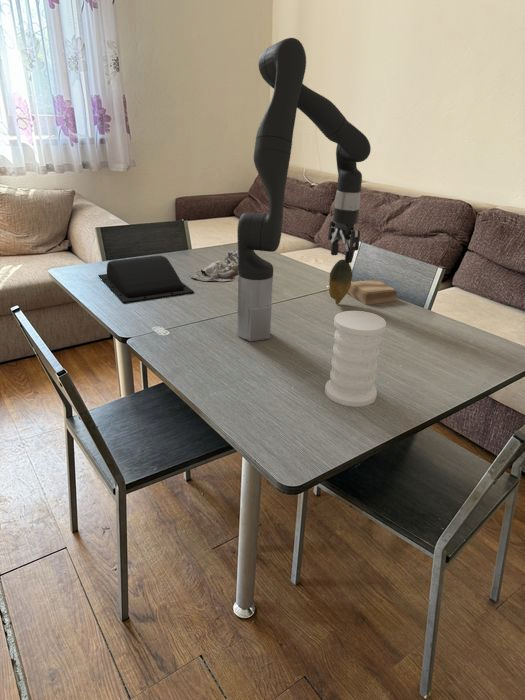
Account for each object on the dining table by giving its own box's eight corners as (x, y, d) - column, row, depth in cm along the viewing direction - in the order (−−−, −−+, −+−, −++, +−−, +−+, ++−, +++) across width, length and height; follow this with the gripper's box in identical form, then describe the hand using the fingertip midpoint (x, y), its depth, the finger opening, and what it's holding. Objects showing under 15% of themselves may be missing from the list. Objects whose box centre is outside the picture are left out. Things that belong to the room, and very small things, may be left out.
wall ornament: (276, 252, 191) (204, 253, 175) (274, 280, 194) (204, 283, 178) (248, 248, 206) (180, 248, 190) (247, 274, 209) (180, 276, 193)
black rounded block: (98, 278, 184) (123, 305, 161) (96, 254, 180) (121, 279, 157) (162, 270, 195) (194, 294, 172) (161, 248, 191) (193, 270, 168)
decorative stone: (339, 298, 173) (344, 255, 166) (353, 304, 169) (359, 259, 162) (320, 304, 167) (324, 259, 160) (334, 310, 163) (339, 264, 156)
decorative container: (374, 410, 110) (386, 334, 102) (320, 401, 112) (328, 326, 105) (378, 385, 120) (389, 314, 112) (329, 377, 123) (336, 307, 115)
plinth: (395, 301, 173) (397, 289, 171) (365, 304, 168) (366, 293, 167) (375, 289, 183) (376, 278, 181) (346, 292, 178) (347, 281, 177)
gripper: (324, 202, 159) (319, 253, 166) (348, 211, 147) (342, 266, 154) (345, 201, 161) (339, 251, 169) (370, 210, 150) (363, 264, 157)
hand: (341, 258), depth 161 cm, fingers open, 8 cm apart
